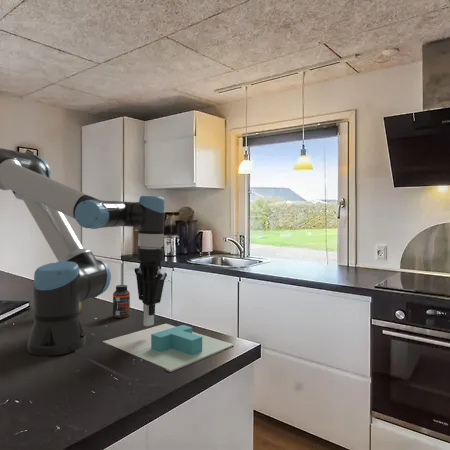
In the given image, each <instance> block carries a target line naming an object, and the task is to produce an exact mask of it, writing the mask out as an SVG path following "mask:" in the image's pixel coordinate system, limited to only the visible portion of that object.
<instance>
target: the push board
mask: <svg viewBox="0 0 450 450" xmlns="http://www.w3.org/2000/svg"><path fill="white" fill-rule="evenodd" d="M174 327H177V326H175V325H172V324H169V323H164V324H159V325H155V326H153V327H149V328H146V329H145V328H144V329H142V330H139V331H135V332H134V331H133V332H131V333H128V334H125V335H120V336H116V337H114V338H110V339H107V340H102V342H103V343H105V344H107V345H110V346H113V347H114V348H117V349H120V350H121V351H124V352H126V353H128V354H130V355H134V356H135V357H138V358H141V359H143V360H145V361H147V362H150V363H153V364H154V365H157V366H159V367H162V368H163V370H165V371H167V372H170V373H172V372H175V371H177V370H179V369H181V368H184V367H186V366H189V365H191V364H194V363H196V362H199V361H201V360H203V359H206V358H208V357H211V356H213V355H215V354H218V353H221V352H223V351H225V349H226V350H227V348H228V349H231V348H233V347H234V346H235V344H233V343H230V342H227V341H223V340H220V339H217V338H213V337H211V336H208V335H204V334H202V333H198V332H194V331H192V334H195V335H198V336H201V337H202V352H199V353H196V354H194V355H189V354H187V353H184V352H181V351H178V350H176V349H173V348H171V349H168V350H165V351H162V352H159V351H157V350H154V349H151V334H154V333H157V332H161V331H164V330H167V329H171V328H174ZM232 346H233V347H232Z"/></svg>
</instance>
